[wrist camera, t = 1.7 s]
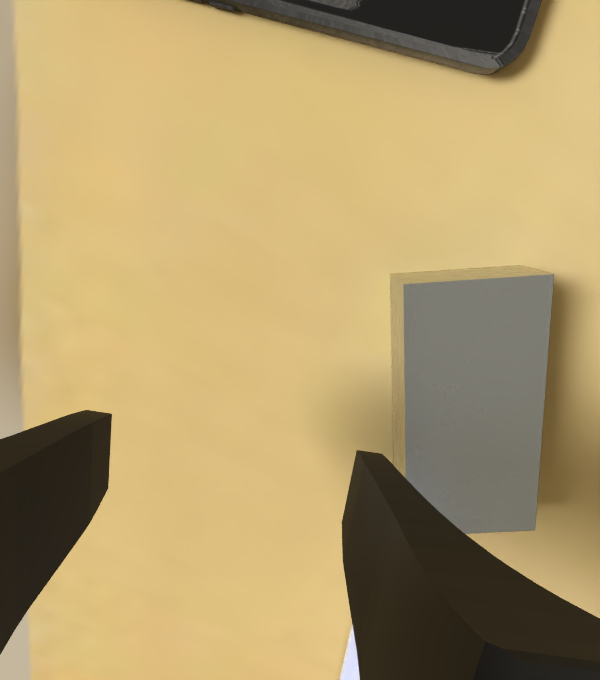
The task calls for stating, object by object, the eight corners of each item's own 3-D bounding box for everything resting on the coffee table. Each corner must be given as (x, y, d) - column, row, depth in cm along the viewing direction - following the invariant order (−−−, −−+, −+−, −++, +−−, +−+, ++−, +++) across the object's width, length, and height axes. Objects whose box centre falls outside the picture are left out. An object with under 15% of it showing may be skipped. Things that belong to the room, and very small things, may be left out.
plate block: (504, 486, 21) (535, 530, 18) (392, 492, 21) (406, 536, 18) (515, 264, 19) (553, 274, 16) (388, 272, 19) (403, 283, 16)
